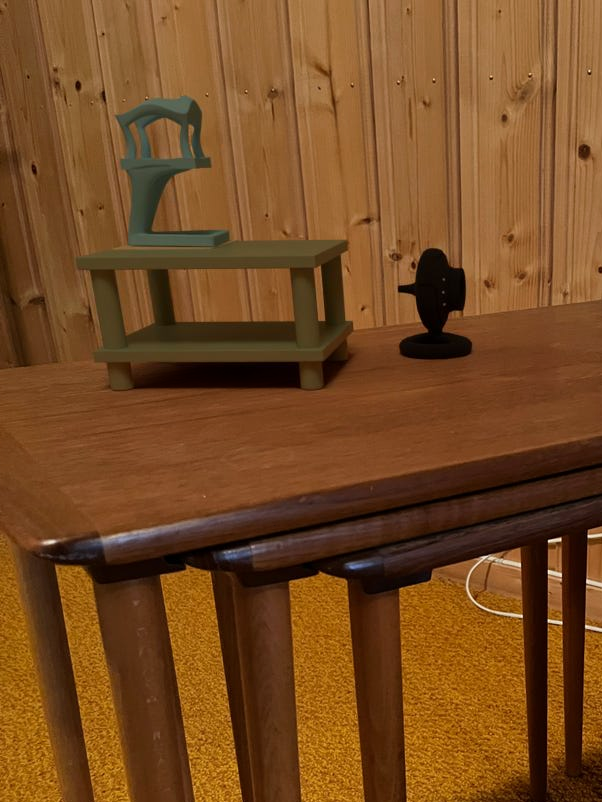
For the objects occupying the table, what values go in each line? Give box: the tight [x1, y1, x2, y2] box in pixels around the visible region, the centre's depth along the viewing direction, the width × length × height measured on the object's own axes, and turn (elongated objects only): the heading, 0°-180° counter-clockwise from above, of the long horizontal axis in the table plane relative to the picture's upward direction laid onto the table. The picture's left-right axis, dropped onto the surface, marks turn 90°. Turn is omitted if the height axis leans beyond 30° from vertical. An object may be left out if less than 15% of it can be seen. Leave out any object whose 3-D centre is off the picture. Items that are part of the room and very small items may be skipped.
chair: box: [114, 94, 231, 247], centre depth 87 cm, size 8×8×12 cm
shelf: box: [74, 239, 355, 391], centre depth 89 cm, size 20×16×11 cm
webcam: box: [397, 247, 473, 360], centre depth 98 cm, size 8×8×10 cm
